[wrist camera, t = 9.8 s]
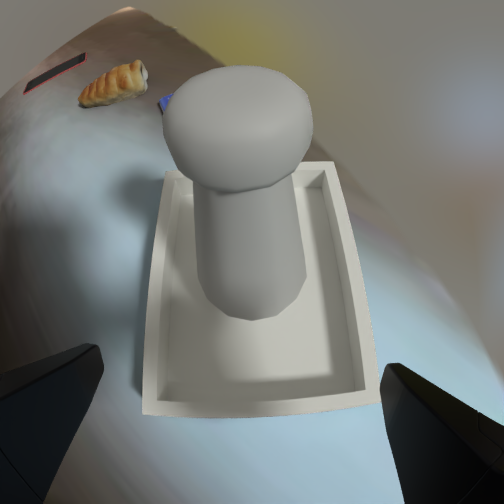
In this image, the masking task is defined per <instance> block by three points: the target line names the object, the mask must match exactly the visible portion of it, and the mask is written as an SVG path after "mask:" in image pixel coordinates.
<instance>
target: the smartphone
mask: <svg viewBox="0 0 504 504" xmlns="http://www.w3.org/2000/svg"><path fill="white" fill-rule="evenodd" d="M86 60H87V53H86V52H85V53H82V54H80V55H78V56H76V57H74V58H72V59H70V60H68V61H66V62H64V63H62V64H60V65H58V66H56V67H54V68H52V69H50V70H48V71H47V72H45V73H43V74H41V75H40V76H38V77H36V78H34V79H33V80H31V81H30V82H28V83H27V85H26V88H25V90H24V92H23V95H25V94H27V93H28V92H30V91H32V90H33V89H35V88H37V87H38V86H40V85H42V84H44V83H45V82H47V81H49V80H51V79H53V78H55V77H56V76H58V75H60V74H62V73H64V72H66V71H68V70H70V69H72V68H74V67H76V66H78V65H80V64H83V63H84V62H86Z"/></svg>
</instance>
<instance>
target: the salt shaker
mask: <svg viewBox="0 0 504 504" xmlns="http://www.w3.org/2000/svg"><path fill="white" fill-rule="evenodd" d="M162 122H163V135H164V138H165V141H166V143H167V146H168V148H169V151H170V153H171V155H172V157H173V159H174V162H175V164H176V166H177V168H178V170H179V171H180V172H181V173H182V174H183V175H184V176H185V177H187V178H189V179H190V180H192V181H193V203H194V225H195V243H196V259H197V273H198V280H199V282H200V284H201V287H202V289H203V291H204V293H205V296H206V298H207V299H208V300H209V301H210V302H211V303H212V304H213V305H215V306H216V307H217V308H218V309H220V310H221V311H222V312H223V313H225V314H226V315H227V316H229V317H234V318H239V319H244V320H249V321H255V320H259V319H264V318H269V317H274V316H277V315H278V314H279V313H280V312H282V311H283V310H284V309H285V308H286V307H288V306H289V305H290V304H291V303H292V302H294V301H295V300H296V298H297V297H298V295H299V293H300V290H301V288H302V286H303V284H304V282H305V280H306V278H307V274H306V264H305V255H304V249H303V244H302V238H301V231H300V225H299V218H298V211H297V205H296V199H295V193H294V186H293V180H292V175H291V174H292V173H293V172H294V171H295V170H296V168H297V167H298V165H299V164H300V162H301V160H302V158H303V157H304V155H305V153H306V151H307V150H308V148H309V146H310V142H311V138H312V133H313V121H312V112H311V107H310V104H309V100H308V97H307V93H306V92H305V91H303V90H302V89H301V88H300V87H299V86H298V85H296V84H295V83H294V82H293V81H291V80H290V79H289V78H288V77H287V76H285V75H284V74H283V73H280V72H277V71H274V70H271V69H268V68H264V67H259V66H243V65H235V66H228V67H222V68H216V69H212V70H209V71H207V72H204V73H202V74H199V75H197V76H194V77H192V78H190V79H189V80H188V81H187V82H185V83H184V84H183V85H182V86H181V87H179V88H178V89H177V90H176V91H175V93H174V94H173V95H172V97H171V98H170V99H169V101H168V104H167V106H166V109H165V111H164V114H163V116H162Z"/></svg>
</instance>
